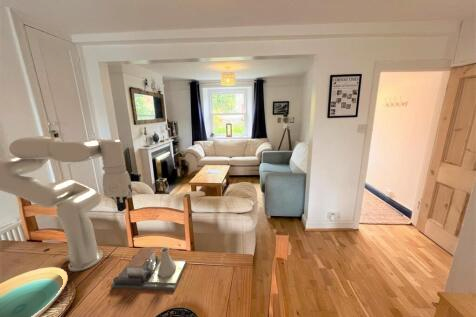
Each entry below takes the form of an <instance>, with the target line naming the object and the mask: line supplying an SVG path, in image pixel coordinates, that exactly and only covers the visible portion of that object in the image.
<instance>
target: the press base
mask: <svg viewBox="0 0 476 317" xmlns="http://www.w3.org/2000/svg"><path fill="white" fill-rule="evenodd" d="M135 255H136V254H133V256H132V259H133V257H134V256H135ZM155 257H156V263H155V267H154V269H153V270H150V272H149V274H148V275H147V277H146V278H145V280H144V281H143V279H142V278H128V272H127V268H126V266H125V267H124V268H123V270H122V271H121V272H119V274H118V276H115V277H114V278H113V280H112V281H113V282H112V283H110V287H111V288H112V289H124V290H125V289H127V290H129V289H130V290H149V291H150V290H151V291H166V292H167V291H168V292H169V291H170V292H171V291H172V292H175V290H176V288H177V285H178V284H179V281H180V279H181V277H182V274H183V272H184V270H185V268H186V265H187V264H188V263H187V259H172V260H173V262H174V263H175V265H176V271H175V272H174V273H173V274H172V275H171V276H169V277H160V276H158V271H159V267H160V264H161V258H160V259H159V258H158V255H155Z"/></svg>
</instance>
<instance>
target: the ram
mask: <svg viewBox="0 0 476 317" xmlns="http://www.w3.org/2000/svg"><path fill="white" fill-rule="evenodd" d="M155 251H156V249H155V248H144V247H143V248H140V249H139V250H138V251H137V253H136V254H134V255H135V256H134V255H133V256H134V257H133V256H132V257H133V258H132V259H131V260H130V261H129V262H128V264H126V266H125V267H126V268H127V272H128V278H142V279H143V281H144V280H145V278H146V277H147V275H148V274H149V272H150V270H153V269H154V267H155V263H156V257H155V256H156V252H155Z"/></svg>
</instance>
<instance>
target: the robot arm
mask: <svg viewBox="0 0 476 317" xmlns="http://www.w3.org/2000/svg"><path fill="white" fill-rule="evenodd" d="M8 150H9V153H10V154H11V155H9V156H5V157H0V191H1V192H4V193H7V194H11V195H14V196H17V197H19V198H21V199H23V200H26V201H28V202H31V203H32V204H35V205H37V206H40V207H43V208H47V209H50V208H53V207H56V206H57V207H56V210H55V212H56V216H57V217H58V219H59V221H60V223H61V225H62V228H63V231H64V236H65V240H66V243H67V245H68V246H67V247H68V252H66V254H67V255H66V256H64V258H65V259H67V260H69V263H68V265H67V266H68V270H69V271H70V272H80V271H85V270H87V269H89V268H91V267H93V266H95V265H96V264H98V263H99V262H100V261H101V260H102V258H103V256H104V253H103V251H102V250H100V249H98V244H97V241H96V235H95V230H94V225H93V222H92V220H91V219H90V218H89V217H88V216H87V214H88V213H89V212H90V211H92V210H93V209H95V208H96V207H98V206H99V205H100V203H101V201H102V197H101V194H100V193H99V192H98V191H97V190H95V189H94V188H91V187H90V186H87V185H85V184H83V183H81V182H78V181H77V180H73V179H68V178H67V179H66V178H65V179H61V180H57V181H55V182H49V183H48V182H45V181H42V180H40V179H38V178H35V177H31V176H24V175H26V174H29V173H32V172H36V171H38V170H40V169H41V168H42V167H43V166H44V165H45V164H46V163H47V162H48V161H49V160H53V161H54V160H55V161H56V162H60V163H83V162H88V161H91V160H94V159H97V158H102V168H101V169H102V170H103V171H104V173H103V174H102V189H103V194H104V196H105V197H106V198H109V199H112V200H113V201H114V203H115V204H116V208H117V212H123V211H124V210H126V209H127V203H126V201H127V199H130V198H132V197H133V184H132V180H131V176H130V174H129V172H128V171H127V168H126V162H125V161H126V160H125V156H124V155H125V154H124V148H123V143H122V141H121V140H120V139H117V138H116V139H114V138H113V139H112V138H111V139H100V138H93V139H87V140H81V141H76V142H75V141H74V142H73V141H70V142H68V141H67V142H66V141H63V140H62V139H61V138H57V137H49V136H46V135H39V136H37V135H36V136H30V137H22V138H21V137H20V138H17V139H15V140H13V141H12V142H11V143H10V144H9V146H8Z"/></svg>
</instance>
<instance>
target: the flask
mask: <svg viewBox="0 0 476 317" xmlns="http://www.w3.org/2000/svg"><path fill="white" fill-rule="evenodd" d="M169 250H170V248H169V247H165V246H164V247H162V248H161V249H160V251H159V252H160V254H161V258H160V259H161V264H160V267H159V271H158V276H160V277H169V276H171V275H172V274H173V273H174V272H175V271H176V265H175V263H174V262H173V260H174V259H172V257H171V256H170V253H169Z"/></svg>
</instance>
